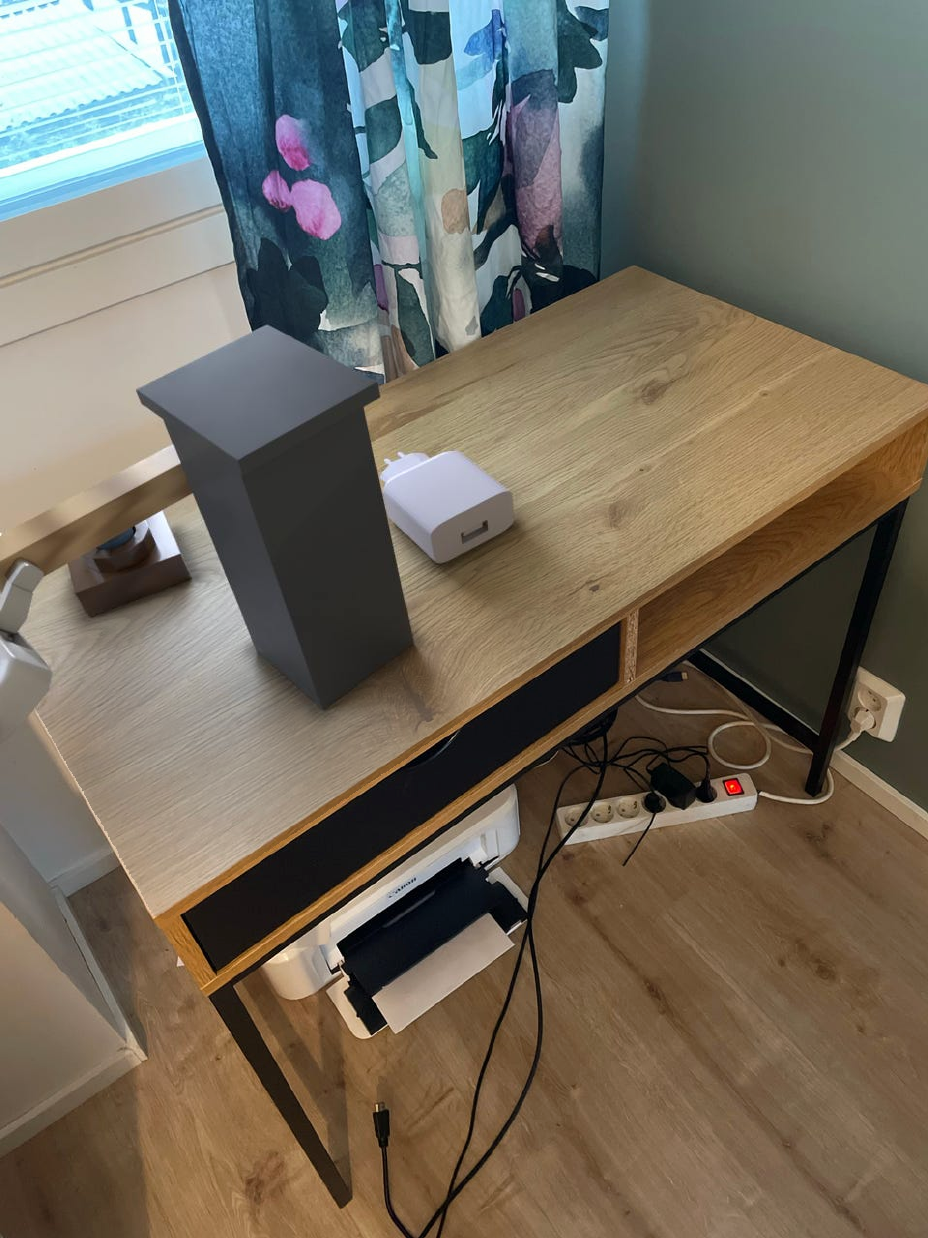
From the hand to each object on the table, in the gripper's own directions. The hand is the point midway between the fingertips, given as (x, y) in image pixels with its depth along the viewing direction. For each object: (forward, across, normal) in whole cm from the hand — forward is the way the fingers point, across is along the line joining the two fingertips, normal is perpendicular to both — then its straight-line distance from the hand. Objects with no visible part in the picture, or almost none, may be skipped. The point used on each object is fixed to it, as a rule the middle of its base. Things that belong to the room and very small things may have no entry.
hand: (20, 550), depth 67 cm
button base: (0, +12, +18) cm, 22 cm away
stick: (+6, 0, +6) cm, 8 cm away
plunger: (+2, +12, +14) cm, 18 cm away
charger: (+22, -4, +31) cm, 39 cm away
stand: (+6, -12, +22) cm, 26 cm away
